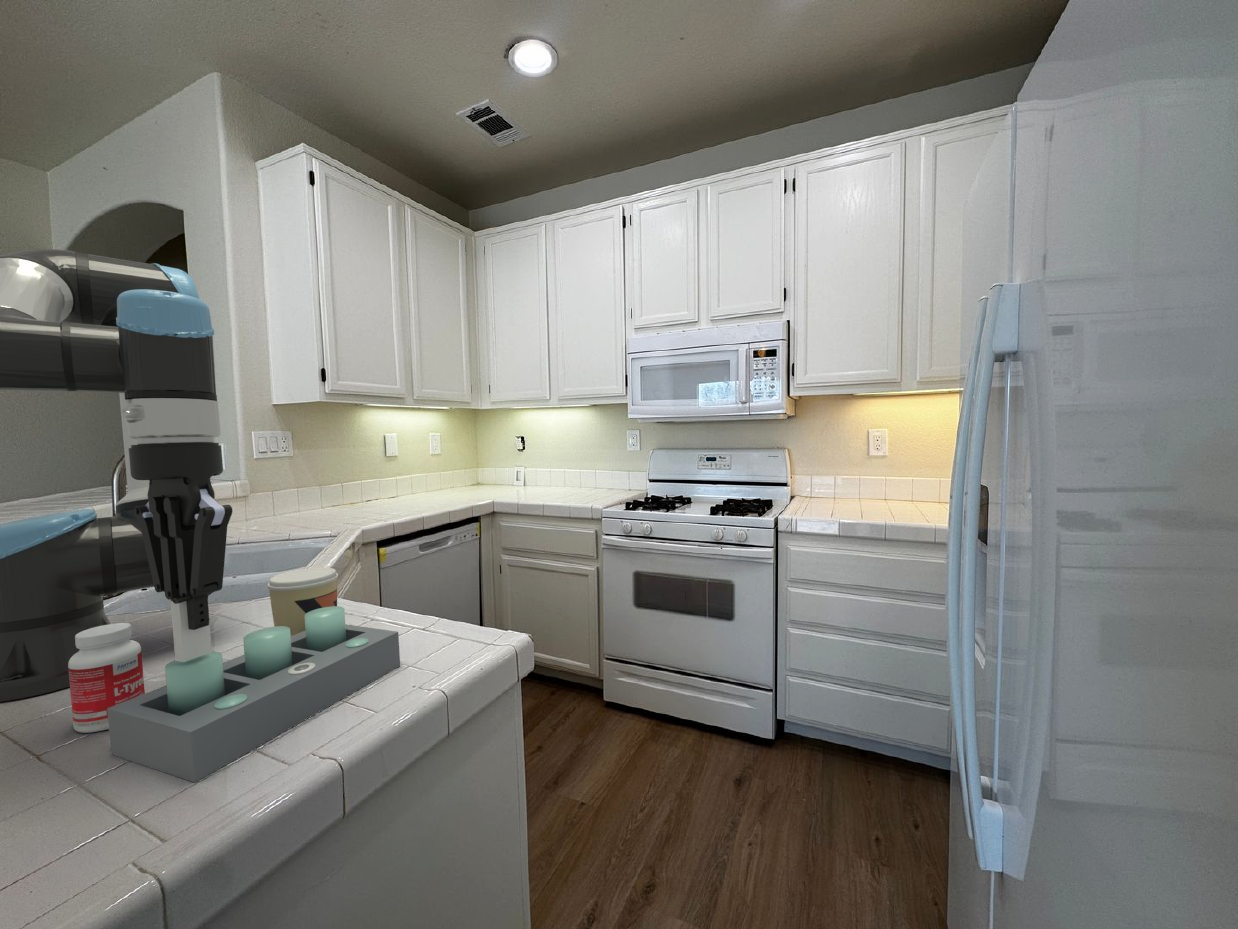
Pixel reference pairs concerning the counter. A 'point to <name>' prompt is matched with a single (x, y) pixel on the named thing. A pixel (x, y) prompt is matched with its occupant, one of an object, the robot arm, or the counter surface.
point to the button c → (325, 628)
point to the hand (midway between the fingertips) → (193, 656)
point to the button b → (267, 651)
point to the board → (248, 705)
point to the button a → (194, 682)
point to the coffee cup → (301, 595)
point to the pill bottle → (103, 674)
